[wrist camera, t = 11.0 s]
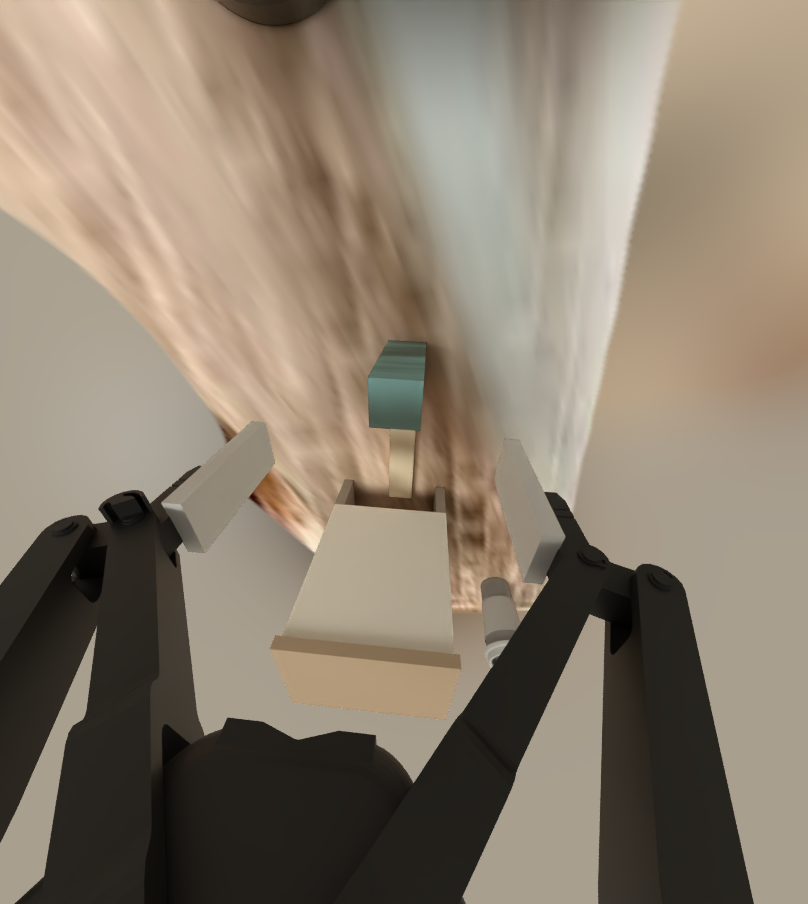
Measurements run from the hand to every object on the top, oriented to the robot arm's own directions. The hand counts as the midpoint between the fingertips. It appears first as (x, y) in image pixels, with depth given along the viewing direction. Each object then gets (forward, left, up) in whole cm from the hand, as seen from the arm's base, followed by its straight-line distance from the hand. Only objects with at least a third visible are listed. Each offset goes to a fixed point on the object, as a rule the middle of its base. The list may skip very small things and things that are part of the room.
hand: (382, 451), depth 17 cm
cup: (+38, +17, -19) cm, 46 cm away
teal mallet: (+8, 0, -19) cm, 20 cm away
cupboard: (+22, -1, -18) cm, 29 cm away
